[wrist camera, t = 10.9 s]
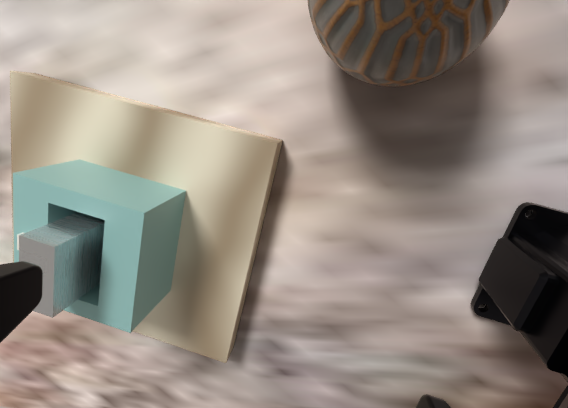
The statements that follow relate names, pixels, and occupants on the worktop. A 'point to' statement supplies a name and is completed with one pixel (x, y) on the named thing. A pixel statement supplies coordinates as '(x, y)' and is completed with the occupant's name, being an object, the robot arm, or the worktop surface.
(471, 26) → the vase
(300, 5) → the worktop surface
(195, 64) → the worktop surface
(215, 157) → the board
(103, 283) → the teal open cube
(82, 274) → the grey rectangular peg
